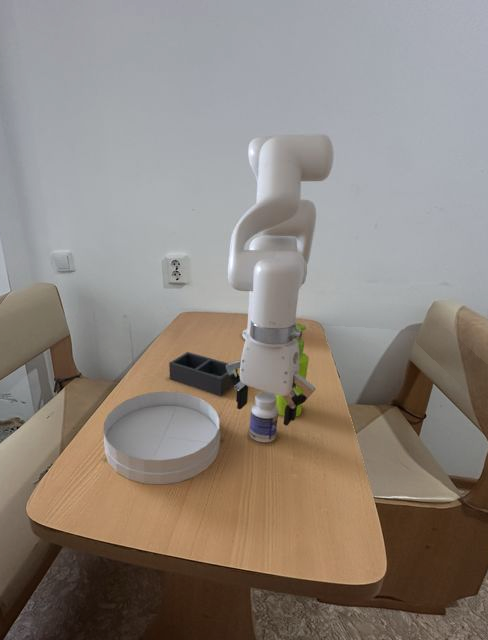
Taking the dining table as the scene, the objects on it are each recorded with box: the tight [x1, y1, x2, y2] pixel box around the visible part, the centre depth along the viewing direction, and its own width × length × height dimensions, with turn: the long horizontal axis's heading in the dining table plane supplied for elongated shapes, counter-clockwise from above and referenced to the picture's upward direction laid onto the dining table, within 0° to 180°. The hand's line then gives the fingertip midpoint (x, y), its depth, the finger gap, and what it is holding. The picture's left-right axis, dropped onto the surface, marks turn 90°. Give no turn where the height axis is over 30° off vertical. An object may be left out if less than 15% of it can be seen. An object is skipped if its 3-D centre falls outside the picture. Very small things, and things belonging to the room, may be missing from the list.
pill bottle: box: [248, 391, 279, 443], centre depth 72 cm, size 5×5×9 cm
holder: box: [168, 351, 238, 397], centre depth 94 cm, size 8×15×5 cm, turn 56°
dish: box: [103, 391, 221, 486], centre depth 71 cm, size 22×22×5 cm
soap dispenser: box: [274, 322, 310, 417], centre depth 79 cm, size 6×7×20 cm
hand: (264, 413), depth 72 cm, fingers open, 9 cm apart
